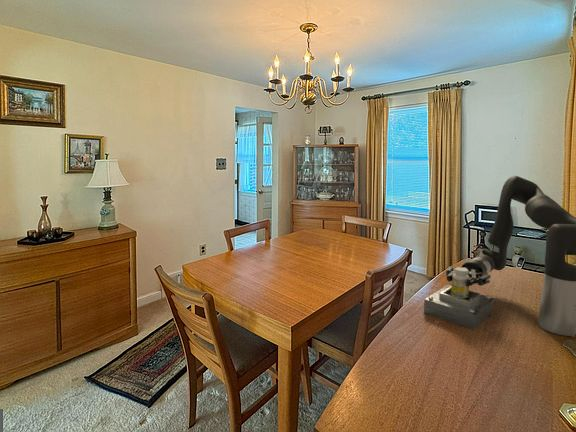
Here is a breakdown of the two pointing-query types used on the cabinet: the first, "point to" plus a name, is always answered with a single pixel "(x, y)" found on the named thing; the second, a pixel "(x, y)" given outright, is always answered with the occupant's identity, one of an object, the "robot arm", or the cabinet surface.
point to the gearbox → (459, 307)
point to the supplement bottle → (460, 283)
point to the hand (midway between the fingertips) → (457, 281)
